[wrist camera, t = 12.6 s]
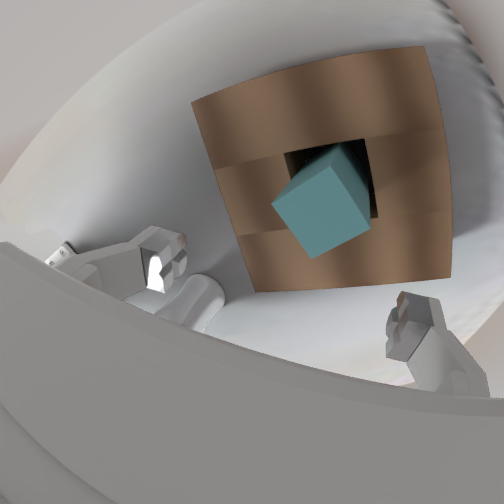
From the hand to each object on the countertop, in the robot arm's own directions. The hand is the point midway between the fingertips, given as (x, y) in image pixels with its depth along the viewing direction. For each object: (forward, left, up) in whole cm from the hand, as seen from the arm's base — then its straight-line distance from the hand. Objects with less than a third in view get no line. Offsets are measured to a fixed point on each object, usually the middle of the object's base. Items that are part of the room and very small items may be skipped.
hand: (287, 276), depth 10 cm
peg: (0, 0, -18) cm, 18 cm away
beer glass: (-20, -13, -19) cm, 30 cm away
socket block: (0, 0, -18) cm, 18 cm away
